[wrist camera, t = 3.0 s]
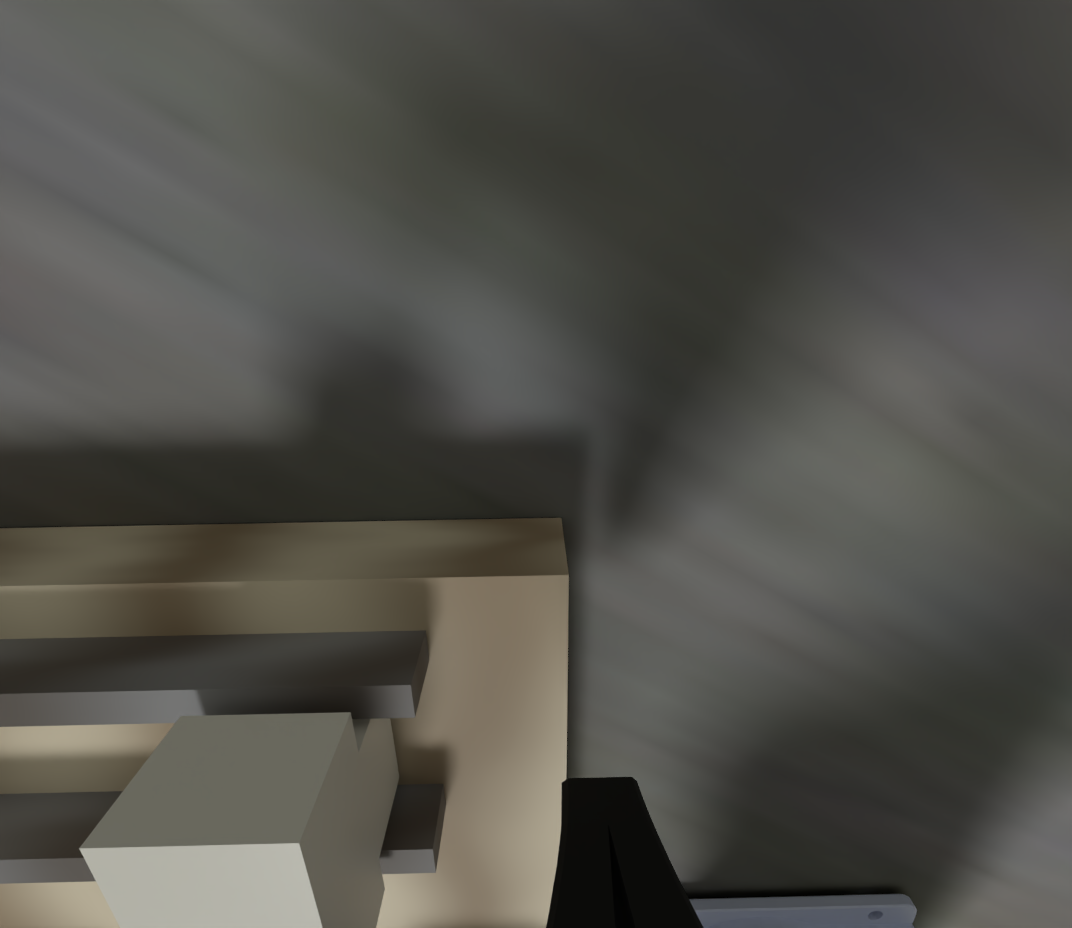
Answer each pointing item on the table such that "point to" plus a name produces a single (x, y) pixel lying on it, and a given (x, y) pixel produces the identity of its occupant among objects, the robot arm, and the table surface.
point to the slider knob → (251, 825)
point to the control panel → (293, 690)
